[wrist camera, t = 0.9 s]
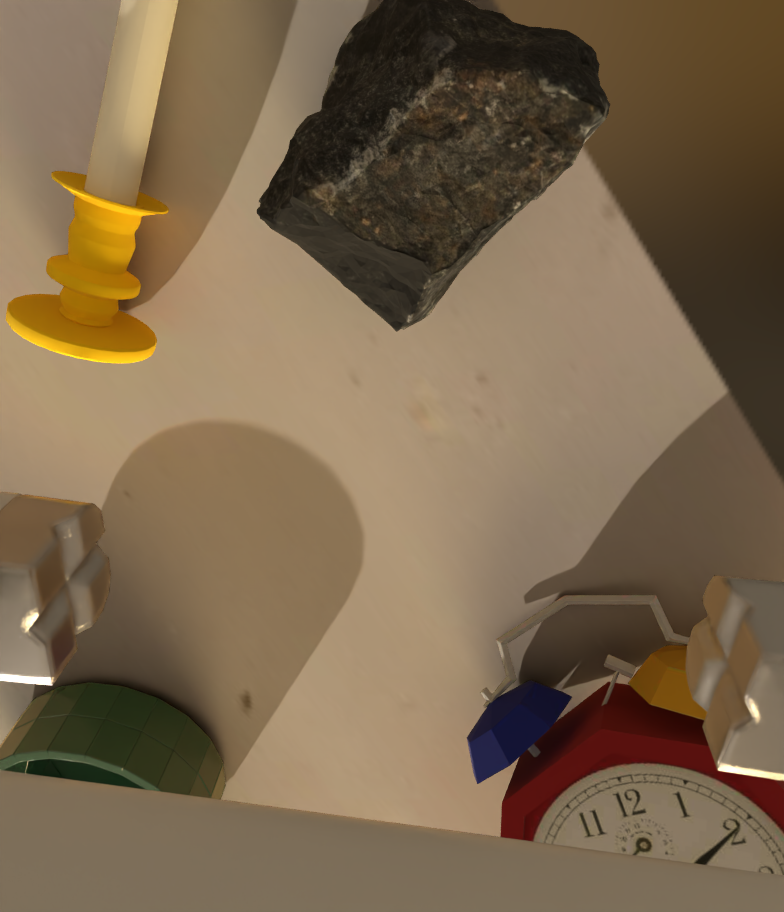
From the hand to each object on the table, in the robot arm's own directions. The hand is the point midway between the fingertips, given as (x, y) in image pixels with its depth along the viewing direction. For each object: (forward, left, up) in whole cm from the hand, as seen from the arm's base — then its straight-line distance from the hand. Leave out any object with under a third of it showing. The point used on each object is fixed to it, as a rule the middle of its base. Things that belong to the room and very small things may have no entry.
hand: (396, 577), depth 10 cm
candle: (+4, -13, -17) cm, 22 cm away
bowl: (+30, -16, -20) cm, 40 cm away
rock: (+1, -4, -17) cm, 18 cm away
